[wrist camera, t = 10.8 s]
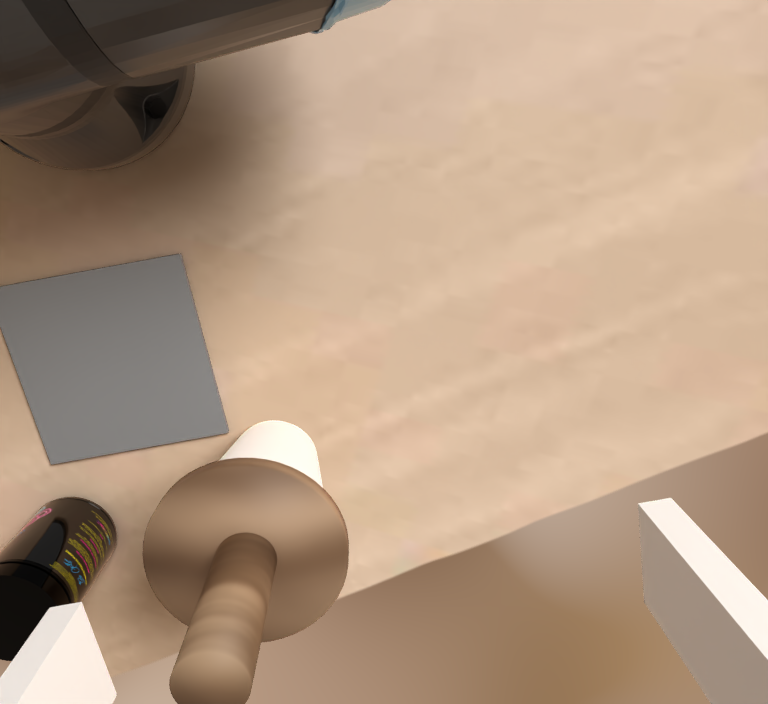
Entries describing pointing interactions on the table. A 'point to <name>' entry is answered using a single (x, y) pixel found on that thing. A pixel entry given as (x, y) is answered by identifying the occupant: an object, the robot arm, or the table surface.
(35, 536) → the supplement container
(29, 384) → the mat
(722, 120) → the table surface
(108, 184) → the table surface
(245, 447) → the cup
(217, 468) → the lid
